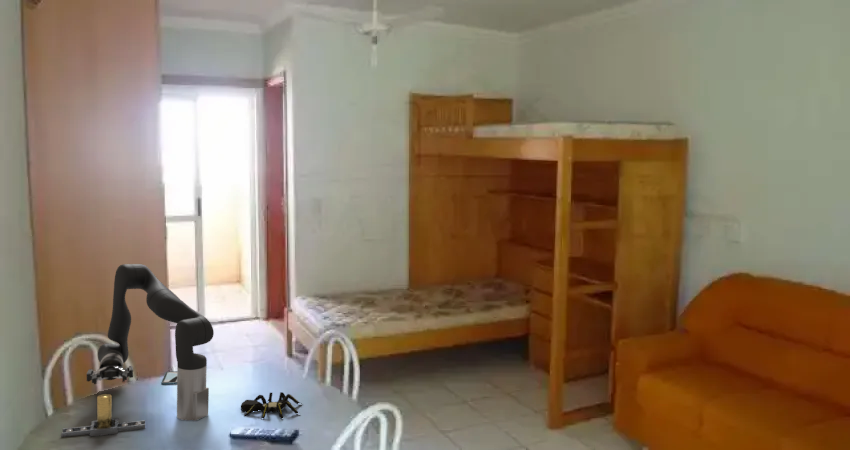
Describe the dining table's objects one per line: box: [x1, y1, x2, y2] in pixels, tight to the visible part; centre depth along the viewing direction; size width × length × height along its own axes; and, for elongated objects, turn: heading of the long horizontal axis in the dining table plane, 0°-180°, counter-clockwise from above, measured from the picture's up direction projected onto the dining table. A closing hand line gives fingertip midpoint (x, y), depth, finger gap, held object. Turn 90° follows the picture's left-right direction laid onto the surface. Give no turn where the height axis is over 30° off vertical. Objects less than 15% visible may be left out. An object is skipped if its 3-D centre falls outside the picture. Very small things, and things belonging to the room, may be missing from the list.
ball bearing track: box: [60, 418, 146, 438], centre depth 209 cm, size 24×8×2 cm, turn 113°
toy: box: [240, 392, 301, 419], centre depth 232 cm, size 18×21×5 cm
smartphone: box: [160, 370, 177, 386], centre depth 260 cm, size 7×1×15 cm
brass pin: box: [96, 393, 113, 429], centre depth 209 cm, size 4×4×11 cm
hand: (109, 379), depth 221 cm, fingers open, 8 cm apart
